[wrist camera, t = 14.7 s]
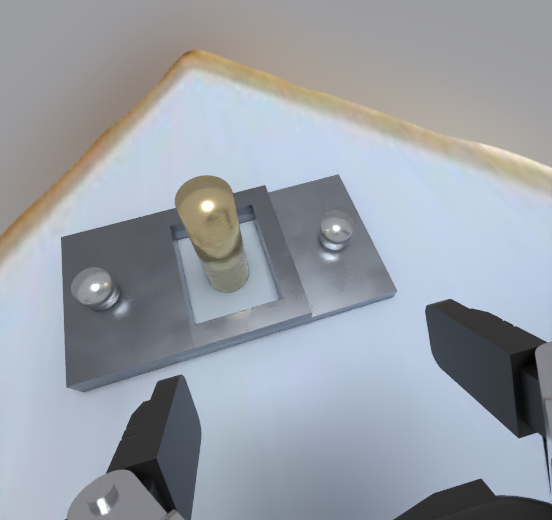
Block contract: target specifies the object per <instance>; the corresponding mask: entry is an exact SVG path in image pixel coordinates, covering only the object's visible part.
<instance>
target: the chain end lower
mask: <svg viewBox="0 0 552 520" xmlns="http://www.w3.org/2000/svg"><path fill="white" fill-rule="evenodd" d="M268 194H269V197H270V200H271V202H272V205H273V208H274V210H275V213H276V216H277V218H278V221H279V224H280V226H281V229H282V232H283V235H284V237H285V240H286V243H287V245H288V248H289V251H290V253H291V256H292V259H293V261H294V264H295V267H296V269H297V272H298V275H299V277H300V280H301V283H302V285H303V288H304V291H305V293H306V296H307V299H308V301H309V304H310V307H311V309H312V317H311V318H307V319H304V320H301V321H297V322H294V323H291V324H288V325H284V326H281V327H278V328H275V329H271V330H268V331H265V332H262V333H258V334H255V335H252V336H249V337H245V338H242V339H239V340H235V341H232V342H229V343H226V344H222V345H219V346H216V347H213V348H209V349H206V350H203V351H200V352H196V353H193V354H190V355H186V356H183V357H180V358H177V359H176V360H178V361H179V362H182V361H185V360H188V359H191V358H195V357H198V356H201V355H204V354H208V353H211V352H214V351H217V350H221V349H224V348H227V347H230V346H234V345H237V344H240V343H243V342H247V341H250V340H253V339H256V338H260V337H263V336H266V335H269V334H273V333H276V332H279V331H282V330H286V329H289V328H292V327H295V326H299V325H302V324H305V323H308V322H312V321H315V320H318V319H321V318H325V317H328V316H331V315H334V314H338V313H341V312H344V311H347V310H351V309H354V308H357V307H360V306H364V305H367V304H370V303H373V302H377V301H380V300H383V299H386V298H390V297H393V296H394V295H395V293H396V292H397V290H396V288H395V286H394V284H393V282H392V280H391V278H390V276H389V274H388V272H387V270H386V268H385V266H384V264H383V262H382V260H381V258H380V256H379V254H378V252H377V250H376V248H375V246H374V244H373V242H372V240H371V238H370V236H369V234H368V232H367V230H366V228H365V226H364V224H363V222H362V220H361V218H360V216H359V214H358V212H357V210H356V208H355V206H354V204H353V202H352V200H351V198H350V196H349V194H348V192H347V190H346V188H345V186H344V184H343V182H342V180H341V178H340V176H339V174H338V175H335V176H331V177H327V178H323V179H319V180H315V181H311V182H307V183H304V184H300V185H296V186H292V187H288V188H284V189H280V190H276V191H273V192H269V193H268ZM237 217H238V222H239V223H242V222H246V221H250V220H254V221H255V224H256V227H257V230H258V233H259V236H260V239H261V242H262V245H263V248H264V251H265V254H266V257H267V260H268V263H269V266H270V269H271V272H272V275H273V278H274V281H275V284H276V287H277V290H278V293H279V296H280V298H281V299H282V296H281V294H280V291H279V288H278V285H277V282H276V279H275V276H274V273H273V270H272V267H271V264H270V261H269V258H268V255H267V252H266V249H265V246H264V243H263V240H262V237H261V234H260V231H259V229H258V226H257V223H256V220H255V217H254V214H253V212H252V213H248V214H244V215H241V216H237ZM186 237H189V235H188V233H187V231H186V230H184V231H180V232H176V233H174V238H175V243H176V248H177V253H178V257H179V262H180V267H181V272H182V277H183V282H184V286H185V291H186V296H187V301H188V306H189V311H190V315H191V320H192V325H195V323H194V319H193V314H192V309H191V304H190V300H189V295H188V290H187V285H186V281H185V276H184V271H183V266H182V262H181V257H180V252H179V247H178V242H177V240H179V239H182V238H186Z"/></svg>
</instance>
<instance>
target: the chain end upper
mask: <svg viewBox="0 0 552 520" xmlns="http://www.w3.org/2000/svg"><path fill="white" fill-rule="evenodd" d="M233 197H234V202H235V207H236V212H237V216H241V215H244V214H248V213H252V212H253V214H254V217H255V220H256V223H257V226H258V229H259V231H260V234H261V237H262V240H263V243H264V246H265V249H266V252H267V255H268V258H269V261H270V264H271V267H272V270H273V273H274V276H275V279H276V282H277V285H278V288H279V291H280V294H281V296H282V299H280V300H277V301H274V302H270V303H267V304H263V305H260V306H257V307H253V308H250V309H247V310H243V311H240V312H236V313H233V314H230V315H226V316H223V317H220V318H216V319H213V320H209V321H206V322H203V323H199V324H196V325H192V320H191V315H190V311H189V306H188V301H187V296H186V291H185V286H184V282H183V277H182V272H181V267H180V262H179V257H178V253H177V248H176V243H175V238H174V233H176V232H180V231H184V230H186V229H185V227H184V224H183V222H182V220H181V218H180V216H179V214H178V211H177V209H176V208H174V209H170V210H166V211H162V212H158V213H154V214H151V215H147V216H143V217H139V218H135V219H131V220H127V221H123V222H119V223H115V224H111V225H108V226H104V227H100V228H96V229H92V230H88V231H84V232H80V233H76V234H72V235H68V236H64V237H61V247H62V275H63V303H64V331H65V359H66V387H68V388H71V389H75V390H79V391H82V392H84V391H87V390H91V389H94V388H97V387H100V386H104V385H107V384H110V383H113V382H117V381H120V380H123V379H126V378H130V377H133V376H136V375H139V374H143V373H146V372H149V371H152V370H156V369H159V368H162V367H165V366H169V365H172V364H175V363H178V362H179V361H178V360H176V359H177V358H180V357H183V356H186V355H190V354H193V353H196V352H200V351H203V350H206V349H209V348H213V347H216V346H219V345H222V344H226V343H229V342H232V341H235V340H239V339H242V338H245V337H249V336H252V335H255V334H258V333H262V332H265V331H268V330H271V329H275V328H278V327H281V326H284V325H288V324H291V323H294V322H297V321H301V320H304V319H307V318H311V317H312V309H311V307H310V304H309V301H308V299H307V296H306V293H305V291H304V288H303V285H302V283H301V280H300V277H299V275H298V272H297V269H296V267H295V264H294V261H293V259H292V256H291V253H290V251H289V248H288V245H287V243H286V240H285V237H284V235H283V232H282V229H281V226H280V224H279V221H278V218H277V216H276V213H275V210H274V208H273V205H272V202H271V200H270V197H269V194H268V192H267V189H266V186H265V185H264V186H260V187H256V188H252V189H248V190H245V191H241V192H237V193H233Z"/></svg>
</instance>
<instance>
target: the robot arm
mask: <svg viewBox="0 0 552 520" xmlns="http://www.w3.org/2000/svg"><path fill="white" fill-rule="evenodd" d="M425 313H426V320H427V326H428V332H429V339H430V345H431V351H432V354H433V356H434V359H435V361H436V362H437V364H438V365H439V367H440V368H441V369H442V370H443V371H444V372H446V373H447V374H448V375H449V376H450V377H451V378H452V379H453V380H454V381H456V382H457V383H458V384H459V385H460V386H461V387H462V388H463V389H464V390H466V391H467V392H468V393H469V394H470V395H471V396H472V397H473V398H474V399H476V400H477V401H478V402H479V403H480V404H481V405H482V406H483V407H484V408H486V409H487V410H488V411H489V412H490V413H491V414H492V415H493V416H494V417H496V418H497V419H498V420H499V421H500V422H501V423H502V424H503V425H504V426H506V427H507V428H508V429H509V430H510V431H511V432H512V433H513V434H514V435H516V436H517V437H518V438H521V437H525V436H528V435H531V434H534V433H537V432H538V433H539V434H540V435H541V436H542V441H543V451H544V458H545V466H546V473H547V480H548V487H549V494H550V501H551V504H550V503H547V502H544V501H540V500H536V499H531V498H526V497H519V496H506V495H496V496H495V495H494V493H493V492H492V491H491V490H490V489H489V487H488V486H487V485H486V484H485V483H484V481H483V480H482V479H478V480H475V481H472V482H468V483H465V484H462V485H459V486H456V487H453V488H449V489H446V490H443V491H440V492H437V493H434V494H432V495H431V496H429V497H427V498H426V499H424V500H423V501H421V502H420V503H418V504H417V505H415V506H414V507H412V508H411V509H409V510H408V511H406V512H405V513H403V514H402V515H400V516H398V517H397V518H395V519H394V520H552V342H546V341H544V340H542V339H540V338H538V337H536V336H534V335H532V334H530V333H528V332H526V331H524V330H522V329H520V328H518V327H516V326H515V327H514V326H513V325H512V324H510V323H508V322H507V321H503V320H502V319H501V318H499V317H497V316H495V315H493V314H491V313H489V312H485V311H480V310H476V309H469V308H467V307H465V306H463V305H461V304H460V303H458V302H456V301H454V300H452V299H448V300H444V301H440V302H437V303H433V304H430V305H427V306H426V310H425ZM126 428H127V430H125V431H124V434H123V436H122V441H120V443H119V445H118V447H117V450H116V452H115V454H114V456H113V459H112V461H111V463H110V466H109V468H108V470H107V472H106V474H105V475H103V476H101V477H99V478H97V479H96V480H94V481H93V482H92V483H90V484H89V485H88V486H87V487H85V488H84V489H83V490H82V491H81V492H80V493H79V494H78V496H77V497H76V498H75V499H74V501H73V502H72V504H71V506H70V508H69V510H68V514H67V519H65V520H191V514H192V506H193V498H194V491H195V483H196V475H197V467H198V460H199V452H200V444H201V426H200V421H199V417H198V414H197V411H196V408H195V405H194V402H193V399H192V396H191V394H190V391H189V388H188V385H187V382H186V379H185V378H184V376H183V375H178V376H174V377H171V378H167V379H164V380H160V381H158V382H157V384H156V386H155V389H154V392H153V394H152V397H151V399H150V400H149V401H145V402H143V403H142V404H141V405H140V406H139V407H138V408H137V410H136V411H135V412H134V413H133V414H132V416H131V418H130V420H129V422H128V425H127V427H126Z"/></svg>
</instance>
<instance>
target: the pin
mask: <svg viewBox="0 0 552 520" xmlns="http://www.w3.org/2000/svg"><path fill="white" fill-rule="evenodd" d="M175 206H176V209H177V211H178V214H179V216H180V218H181V220H182V222H183V224H184V227H185V229H186V231H187V233H188V235H189V238H190V240H191V242H192V244H193V246H194V249H195V251H196V253H197V255H198V257H199V260H200V262H201V264H202V266H203V268H204V271H205V273H206V275H207V277H208V279H209V282H210V284H211V285H212V286H213V287H214V288H215V289H216V290H218V291H221V292H234V291H236V290H238V289H240V288H241V287H242V286H243V285H244V284H245V283H246V281H247V279H248V275H249V270H248V265H247V261H246V256H245V251H244V246H243V241H242V236H241V231H240V226H239V222H238V217H237V212H236V207H235V202H234V197H233V192H232V189H231V187H230V186H229V184H228V183H227V182H226V181H224V180H223V179H221V178H218V177H215V176H199V177H195V178H193V179H190V180H189V181H187V182H186V183H184V184H183V185H182V186H181V187H180V189H179V190H178V192H177V194H176V197H175Z"/></svg>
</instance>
